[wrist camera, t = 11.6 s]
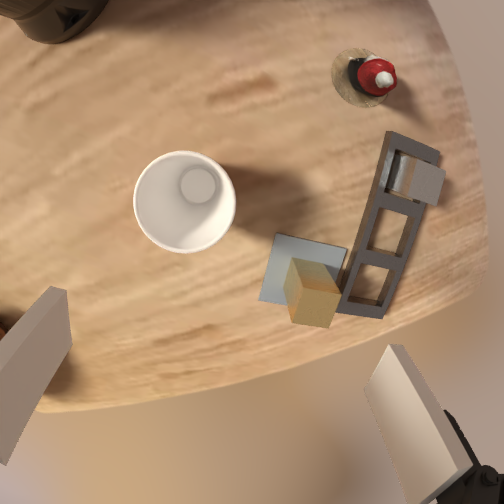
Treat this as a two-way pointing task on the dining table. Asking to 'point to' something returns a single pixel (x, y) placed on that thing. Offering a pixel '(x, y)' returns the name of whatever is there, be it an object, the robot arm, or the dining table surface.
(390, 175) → the block
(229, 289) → the dining table surface
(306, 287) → the block
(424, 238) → the dining table surface
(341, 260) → the mat
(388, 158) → the grey block holder tray
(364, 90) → the figurine
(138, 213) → the cup
